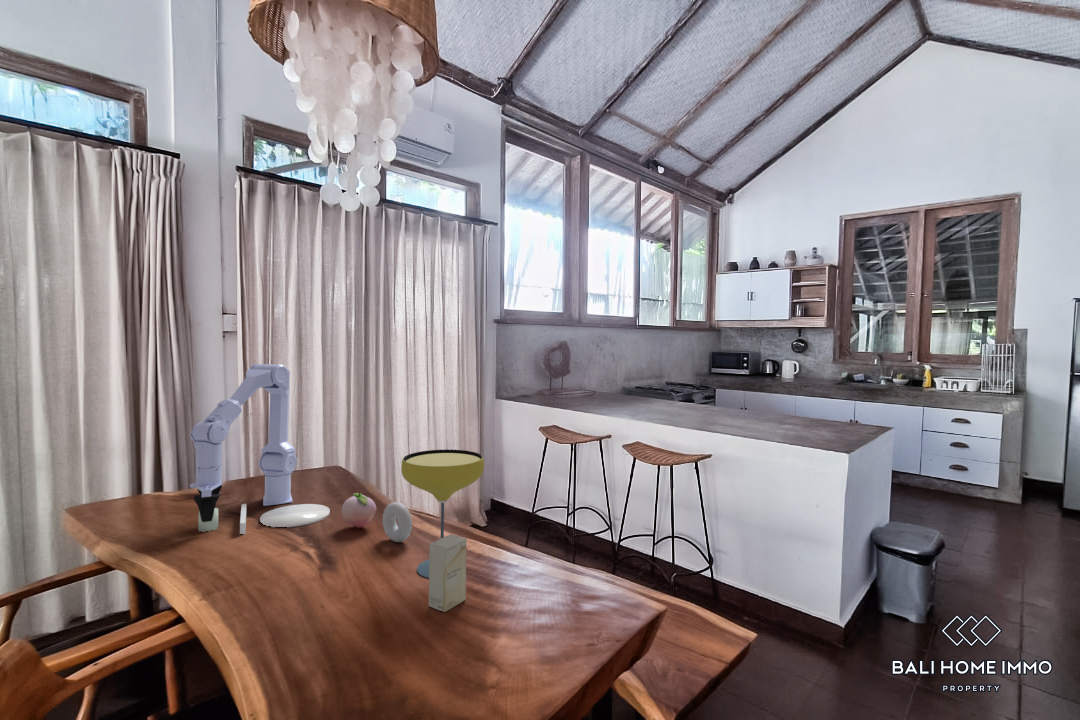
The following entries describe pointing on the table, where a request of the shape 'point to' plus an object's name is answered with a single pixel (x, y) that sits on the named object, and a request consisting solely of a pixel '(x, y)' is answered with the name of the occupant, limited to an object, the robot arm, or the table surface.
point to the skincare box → (447, 572)
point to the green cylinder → (210, 524)
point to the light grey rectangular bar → (243, 519)
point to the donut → (404, 522)
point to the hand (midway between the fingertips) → (208, 516)
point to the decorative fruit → (358, 510)
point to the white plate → (295, 515)
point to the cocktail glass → (441, 477)
